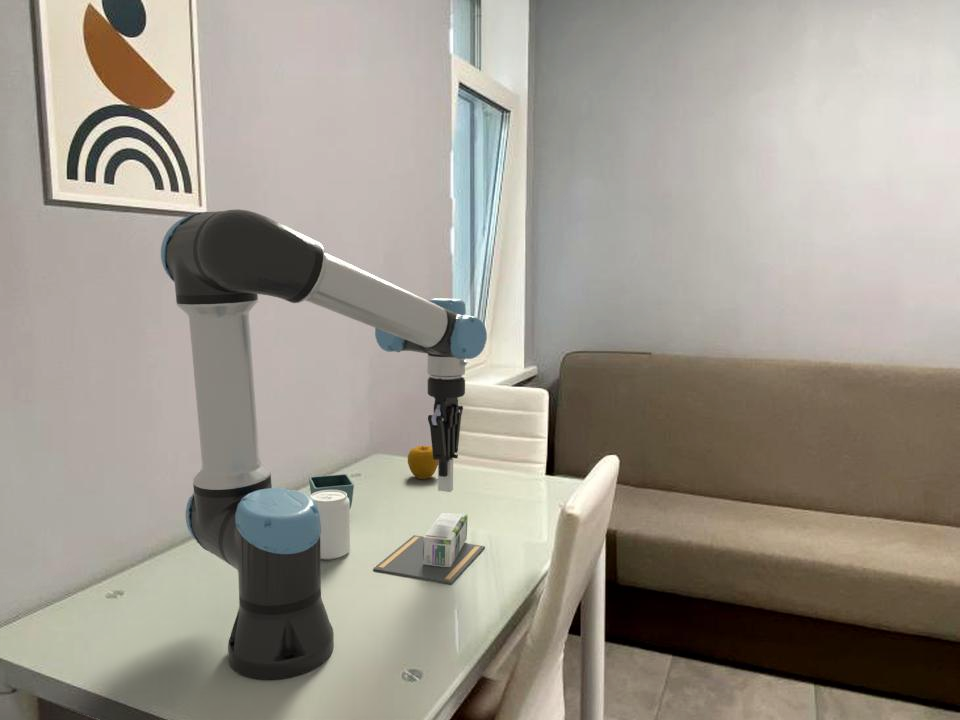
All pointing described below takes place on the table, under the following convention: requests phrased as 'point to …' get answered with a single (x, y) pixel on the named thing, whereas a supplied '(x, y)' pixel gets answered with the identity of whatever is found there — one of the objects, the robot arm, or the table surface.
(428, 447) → the apple
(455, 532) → the syrup box
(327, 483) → the flower pot
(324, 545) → the beverage can
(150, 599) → the table surface
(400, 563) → the mat
